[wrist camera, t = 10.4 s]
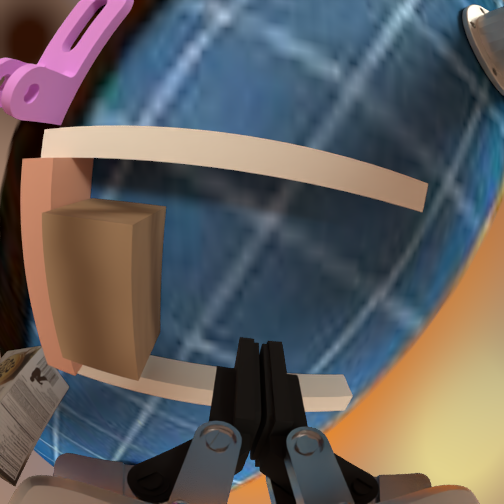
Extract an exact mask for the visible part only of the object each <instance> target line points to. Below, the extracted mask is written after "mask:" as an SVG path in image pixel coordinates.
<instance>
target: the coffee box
mask: <svg viewBox="0 0 504 504" xmlns="http://www.w3.org/2000/svg"><path fill="white" fill-rule="evenodd" d="M68 389H69V386H68V384H67V383H66V382H65V380H64V379H63V377H62V376H61V375H60V373H59V372H58V370H57V369H56V368H54V367H52V366H50V365H48V364H47V361H46V358H45V355H44V352H43V348H42V347H41V346H36V347H30V348H24V349H18V350H12V351H7V352H6V353H5V355H4V356H3V357H2V358H1V359H0V477H1V478H2V479H4V480H5V481H7V482H9V483H10V484H12V485H13V486H16V483H17V481H18V479H19V477H20V475H21V472H22V471H23V469H24V467H25V465H26V462H27V460H28V459H29V456H30V455H31V452H32V451H33V449H34V447H35V445H36V443H37V441H38V439H39V438H40V436H41V434H42V432H43V430H44V429H45V427H46V425H47V423H48V422H49V420H50V418H51V417H52V415H53V413H54V412H55V410H56V408H57V406H58V405H59V403H60V402H61V400H62V398H63V397H64V395H65V393H66V392H67V390H68Z"/></svg>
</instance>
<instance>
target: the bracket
mask: <svg viewBox="0 0 504 504" xmlns="http://www.w3.org/2000/svg"><path fill="white" fill-rule="evenodd" d="M133 1H134V0H80V1H79V2H78V4H77V5H76V6H75V7H74V9H73V10H72V11H71V13H70V14H69V15H68V17H67V18H66V19H65V21H64V22H63V24H62V25H61V27H60V28H59V29H58V31H57V33H56V34H55V35H54V37H53V39H52V40H51V42H50V43H49V45H48V47H47V48H46V50H45V52H44V54H43V55H42V57H41V58H40V60H39V62H38V63H37V65H35V64H27V63H24V62H21V61H18V60H15V59H10V58H2V59H0V80H1V78H2V77H3V76H5V79H4V82H3V84H2V85H1V86H0V107H1V108H3V110H4V111H5V113H7V114H8V115H10V116H12V117H14V118H16V119H18V120H25V121H34V122H42V123H49V124H57V125H61V123H62V121H63V119H64V117H65V114H66V112H67V110H68V108H69V106H70V104H71V102H72V100H73V98H74V96H75V94H76V92H77V90H78V88H79V86H80V85H81V83H82V81H83V79H84V77H85V76H86V74H87V72H88V71H89V69H90V67H91V66H92V64H93V62H94V61H95V59H96V58H97V56H98V54H99V53H100V51H101V50H102V48H103V47H104V45H105V44H106V42H107V41H108V40H109V38H110V37H111V35H112V34H113V33H114V31H115V30H116V29H117V27H118V26H119V25H120V23H121V22H122V21H123V19H124V18H125V17H126V16H127V14H128V13H129V11H130V10H131V8H132V5H133ZM103 5H106V6H105V7H104V8H103V10H102V11H101V12H100V13H99V15H98V16H97V17H96V19H95V20H94V21H93V23H92V24H91V25H90V27H89V28H88V29H87V31H86V32H85V34H84V35H83V37H82V38H81V40H80V41H79V43H78V44H77V45H76V47H75V48H74V49H72V50H71V51H70V48H71V46H72V44H73V43H74V41H75V40H76V38H77V37H78V35H79V34H80V32H81V31H82V30H83V28H84V27H85V25H86V24H87V23H88V21H89V20H90V19H91V17H92V16H93V15H94V13H95V12H96V11H97V10H98V9H99V8H100V7H101V6H103Z"/></svg>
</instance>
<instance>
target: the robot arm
mask: <svg viewBox="0 0 504 504" xmlns="http://www.w3.org/2000/svg"><path fill="white" fill-rule="evenodd" d="M462 19H463V25H464V29H465V32H466V35H467V38H468V40H469V43H470V45H471V47H472V49H473V51H474V54H475V55H476V57H477V59H478V61H479V63H480V65H481V66H482V68H483V70H484V71H485V73H486V75H487V76H488V78H489V79H490V81H491V82H492V83H493V85H494V86H495V87H496V88H497V90H498V91H499V92H500V93H501V94H502V95H503V96H504V6H503V7H500V8H498V9H495V10H493V11H490V12H489V11H488V10H486V9H484V8H483V7H481V6H478V5H470V6H468V7H466V8H465V9H464V10H463V14H462ZM249 452H250V459H251V460H255V467H260V472H262V473H263V474H264V475H266V482H267V487H268V491H269V495H270V499H271V504H479V502H478V500H477V498H476V497H475V495H474V494H473V493H472V492H471V490H469V489H468V488H466V487H464V486H459V485H440V486H434V487H431V482H430V479H429V478H428V477H427V476H426V475H424V474H420V473H414V474H396V475H379V476H377V477H373V476H372V475H370V474H369V473H367V472H365V471H363V470H362V469H360V468H358V467H356V466H355V465H353V464H351V463H349V462H347V461H346V460H344V459H343V458H341V457H339V456H338V455H336V454H335V453H333V450H332V448H331V446H330V443H329V441H328V439H327V437H326V436H325V434H323V433H322V432H321V431H320V430H318V429H316V428H312V427H308V426H307V420H306V415H305V409H304V404H303V399H302V393H301V388H300V383H299V378H298V376H297V375H296V374H287V371H286V364H285V358H284V351H283V345H282V342H276V341H268V342H267V344H262V346H261V350H260V354H259V343H254V339H251V338H243V337H240V339H239V345H238V350H237V356H236V361H235V367H234V368H226V367H219V366H217V369H216V376H215V382H214V389H213V396H212V403H211V410H210V417H209V422H206V423H204V424H202V425H201V426H199V427H198V429H197V430H196V432H195V435H194V437H193V439H191V440H189V441H187V442H185V443H183V444H181V445H179V446H177V447H175V448H173V449H171V450H168V451H166V452H164V453H162V454H160V455H157V456H155V457H153V458H151V459H148V460H146V461H143V462H141V463H139V464H137V465H135V466H134V465H124V464H123V462H115V461H109V460H102V459H97V458H91V457H86V456H81V455H77V454H71V453H66V454H62V455H60V456H59V457H58V458H57V459H56V462H55V465H54V473H53V476H47V475H37V476H31V477H28V478H27V479H25V480H24V481H23V482H22V483H21V484H20V485H19V486H18V487H17V489H16V490H15V492H14V493H13V495H12V497H11V499H10V501H9V503H8V504H227V502H228V497H229V493H230V490H231V486H232V482H233V477H234V475H235V474H237V473H238V472H240V471H241V470H242V469H243V466H244V464H245V461H246V459H247V457H248V454H249Z"/></svg>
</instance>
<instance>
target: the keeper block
mask: <svg viewBox="0 0 504 504" xmlns="http://www.w3.org/2000/svg"><path fill="white" fill-rule="evenodd" d="M165 214H166V206H158V205H150V204H141V203H133V202H124V201H114V200H105V199H95V198H91V199H87V200H84V201H80V202H76V203H73V204H69V205H66V206H63V207H59V208H56V209H53V210H50V211H46V212H43V213H42V237H43V252H44V263H45V272H46V280H47V287H48V294H49V300H50V305H51V311H52V316H53V321H54V325H55V330H56V334H57V338H58V342H59V346H60V349H61V353H62V357H63V358H65V359H68V360H71V361H73V362H76V363H79V364H82V365H85V366H88V367H91V368H94V369H97V370H100V371H104V372H107V373H110V374H114V375H117V376H121V377H124V378H128V379H132V380H136V381H139V379H140V377H141V374H142V372H143V370H144V367H145V365H146V363H147V360H148V358H149V356H150V353H151V351H152V349H153V347H154V344H155V342H156V340H157V338H158V335H159V333H160V301H161V270H162V251H163V237H164V225H165Z"/></svg>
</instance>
